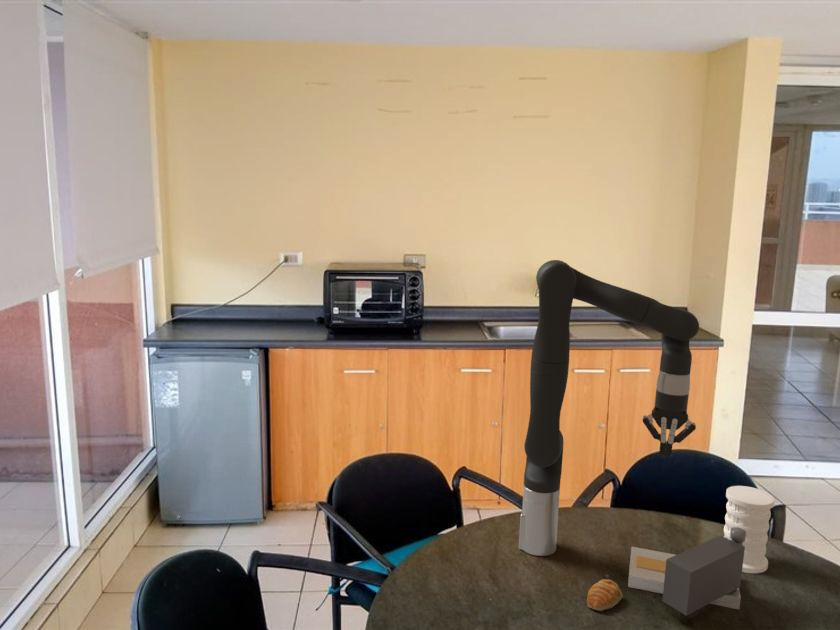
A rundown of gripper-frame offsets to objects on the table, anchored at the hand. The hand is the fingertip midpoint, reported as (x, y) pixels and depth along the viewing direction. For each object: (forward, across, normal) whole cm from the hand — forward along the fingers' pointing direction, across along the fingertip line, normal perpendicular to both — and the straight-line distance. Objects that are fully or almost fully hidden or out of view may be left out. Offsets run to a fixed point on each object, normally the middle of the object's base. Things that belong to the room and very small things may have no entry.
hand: (665, 456), depth 165 cm
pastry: (+28, -10, -24) cm, 39 cm away
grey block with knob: (+24, +11, -18) cm, 32 cm away
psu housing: (+27, +6, -10) cm, 30 cm away
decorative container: (+27, +21, +7) cm, 35 cm away
